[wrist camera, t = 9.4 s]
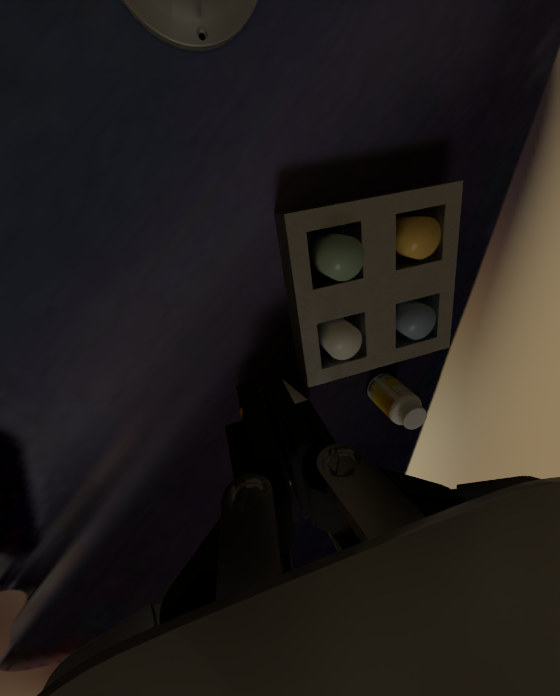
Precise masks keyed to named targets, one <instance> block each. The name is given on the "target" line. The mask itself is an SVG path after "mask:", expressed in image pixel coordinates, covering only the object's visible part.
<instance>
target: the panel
mask: <svg viewBox="0 0 560 696" xmlns="http://www.w3.org/2000/svg"><path fill="white" fill-rule="evenodd" d="M462 189H463V180H462V181H451V182H440V183H433V184H428V185H423V186H417V187H412V188H407V189H401V190H396V191H391V192H385V193H380V194H375V195H369V196H364V197H359V198H353V199H348V200H343V201H337V202H332V203H327V204H321V205H316V206H311V207H305V208H300V209H295V210H289V211H284V212H279V213H274V215H275V222H276V229H277V235H278V242H279V248H280V255H281V261H282V268H283V274H284V281H285V288H286V294H287V301H288V307H289V314H290V320H291V327H292V334H293V340H294V347H295V353H296V360H297V366H298V373H299V374H300V376H301V377H302V379H303V380H304V382H305V383H306V385H307V386H308V388H309V387H312V386H316V385H319V384H323V383H326V382H330V381H333V380H337V379H340V378H344V377H347V376H351V375H354V374H358V373H361V372H365V371H368V370H372V369H375V368H379V367H382V366H386V365H389V364H393V363H396V362H400V361H403V360H407V359H410V358H414V357H417V356H421V355H424V354H428V353H431V352H435V351H438V350H442V349H445V348H449V345H450V333H451V321H452V309H453V297H454V285H455V273H456V261H457V249H458V237H459V225H460V213H461V201H462ZM418 209H422V211H421V217H431V218H434V219H435V220H436V221H437V222H438V224H439V226H440V229H441V238H440V242H439V244H438V246H437V248H436V249H435V251H434V252H433V253H432V254H431V255H430V256H428V257H426V258H424V259H414V258H405V259H401V260H397V261H396V214H398V213H403V212H408V211H413V210H418ZM344 224H345V235H346V236H351V237H354V238H356V239H357V240H359V242H360V243H361V244H362V246H363V248H364V253H365V258H364V263H363V266H362V268H361V270H360V271H359V273H358V274H357V275H356V276H354V277H353V278H351V279H349V280H346V281H337V280H335V279H332V278H330V277H328V276H326V277H322V278H317V279H313V280H312V278H311V270H310V261H309V252H308V243H307V235H306V232H309V231H314V230H319V229H324V228H329V227H334V226H339V225H344ZM418 298H419V299H418ZM414 299H418V302H420V303H422V304H425V305H427V306H429V307H431V308H432V309H433V310H434V312H435V314H436V321H435V325H434V327H433V329H432V330H431V332H430V333H429V334H428V335H426V336H425V337H423V338H421V339H418V340H414V339H410V338H409V337H407V336H405V335H404V334H402V333H400V332H398V333H396V304H398V303H402V302H406V301H410V300H414ZM347 316H351V324H352V325H353V326H355V327H356V328H357V329H358V330H359V331H360V332H361V335H362V344H361V347H360V349H359V350H358V352H357V353H356V354H355V355H354V356H352V357H351V358H348V359H345V360H338V359H335V358H333V357H332V356H331V355H330V354H329V353H328V352H323V353H320V348H319V339H318V331H317V324H319V323H323V322H327V321H331V320H335V319H339V318H343V317H347Z"/></svg>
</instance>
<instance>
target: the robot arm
mask: <svg viewBox="0 0 560 696" xmlns="http://www.w3.org/2000/svg"><path fill="white" fill-rule="evenodd" d="M121 1H122V2H123V4H124V5H125V6H126V7H127V9H128V10H129V11H130V12H131V14H132V15H133V16H134V17H135V19H136V20H138V21H139V22H140V23H141V24H142V25H143V26H144V27H145V28H146V29H147V30H148V31H149V32H151V33H152V34H154V35H155V36H157V37H158V38H160V39H161V40H163V41H164V42H166V43H169V44H171V45H173V46H176V47H178V48H182V49H187V50H192V51H205V50H211V49H214V48H218V47H221V46H223V45H224V44H226V43H228V42H229V41H231V40H233V39H234V38H235V37H236V36H237V35H238V34H239V33H240V32H241V31H242V30H243V28H244V27H245V25H246V24H247V22H248V21H249V19H250V18H251V16H252V14H253V11H254V9H255V6H256V4H257V1H258V0H121ZM200 35H203V36H204V38H205V40H204V41H202V40H200V39H199V36H200ZM261 387H262V391H263V395H264V399H265V403H266V407H267V410H266V408H265V405H264V402H263V400H262V397H261V395H260V392H259V389H258V387H257V384H255V385H251V383H250V382H248V383H245V384H241V385H238V386H236V388H237V391H238V395H239V399H240V403H241V406H242V410H243V414H244V418H245V420H242V421H239V422H236V423H233V424H229V425H226V426H225V428H226V435H227V440H228V446H229V452H230V458H231V464H232V470H233V476H234V480H233V481H232V482H231V483H230V484H229V485H228V486H227V487H226V489H225V491H224V492H223V496H222V502H221V518H220V519H219V521H218V522H217V523H216V525H215V526H214V527H213V529H212V530H211V532H210V533H209V534H208V536H207V537H206V538H205V540H204V541H203V543H202V544H201V545H200V547H199V548H198V549H197V551H196V552H195V554H194V555H193V556H192V558H191V559H190V560H189V562H188V563H187V565H186V566H185V567H184V569H183V570H182V571H181V573H180V574H179V576H178V577H177V578H176V580H175V581H174V582H173V584H172V585H171V587H170V588H169V590H168V591H167V593H166V595H165V597H164V599H163V601H161V602H160V603H158V604H157V605H155V606H152V604H151V603H150V604H149V605H147V606H145V607H144V608H142V609H141V610H139V611H138V612H136V613H135V614H133V615H131V616H130V617H128V618H127V619H125V620H124V621H122V622H121V623H119V624H117V625H116V626H114V627H113V628H111V629H110V630H108V631H106V632H105V633H103V634H102V635H100V636H99V637H97V638H96V639H94V640H92V641H91V642H89V643H88V644H86V645H85V646H83V647H82V648H80V649H78V650H77V651H75V652H74V653H72V654H71V655H70V656H68V657H67V658H66V659H65V660H64V661H62V662H61V663H60V664H59V666H58V667H57V668H56V669H55V671H54V672H53V673H52V674H51V676H50V677H49V679H48V681H47V683H46V685H45V687H44V689H43V691H42V692H41V693H39V694H38V695H37V696H560V477H556V478H547V479H539V478H535V477H531V476H518V477H511V478H503V479H496V480H488V481H481V482H474V483H467V484H459V485H457V489H449V488H448V487H445V486H443V485H440V484H437V483H434V482H429V481H426V480H423V479H419V478H416V477H412V476H409V475H405V474H401V473H398V472H394V471H391V470H387V469H384V468H380V467H377V466H376V465H375V464H374V463H373V462H372V461H371V460H370V459H369V458H368V457H367V456H366V455H365V454H364V453H363V452H362V451H361V450H360V449H359V448H357V447H356V446H353V445H351V444H346V443H335V441H334V439H333V438H332V436H331V435H330V433H329V431H328V430H327V428H326V426H325V425H324V423H323V422H322V420H321V418H320V417H319V415H318V413H317V412H316V410H315V408H314V407H313V405H312V404H311V402H310V401H309V400H306V401H302V402H299V403H296V404H295V403H294V401H293V399H292V397H291V395H290V393H289V391H288V390H287V388H286V386H285V384H284V382H283V380H282V378H281V376H280V375H279V373H278V374H275V375H272V376H268V377H265V382H261ZM267 411H268V413H267ZM268 415H269V416H268ZM290 483H291V485H290ZM291 486H292V489H293V491H294V494H295V497H296V500H297V502H298V505H299V508H300V511H301V513H302V516H303V518H304V519H307V518H309V517H310V520H311V522H312V525H313V527H317V528H319V529H322V530H324V531H327V532H329V536H330V538H331V540H332V542H333V544H334V545H335V547H336V549H337V550H338V552H337V553H334V554H332V555H329V556H327V557H324V558H322V559H319V560H317V561H314V562H312V563H309V564H307V565H304V566H302V567H299V568H297V569H294V570H293V566H292V559H291V554H290V548H291V546H292V544H293V542H294V540H295V538H296V536H297V532H296V528H295V524H294V523H296V522H299V519H298V515H297V510H296V506H295V502H294V498H293V494H292V489H291Z"/></svg>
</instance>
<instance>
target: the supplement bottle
mask: <svg viewBox="0 0 560 696" xmlns="http://www.w3.org/2000/svg"><path fill="white" fill-rule="evenodd" d="M367 392H368V395H369V397H370V398H371V399H372V401H373V402H374V403H375V404H376V405H377V406H378V407H379V408H380V409H381V410H382V411H383V412H384V413H385V414H386V415H387V416H388V417H389V418H390V419H391V420H392V421H393V422H394V423H396V424H398V425H404V426H405V427H406V428H407V429H416V428H418V427H419V426H421V425H422V424H423V423H424V421H425V419H426V416H427V414H426V411H425V410H424V409H423V408H422V404H421V401H420V399H419V398H418V397H417V396H416V395H415V394H414V393H412V392H411V391H410V390H409V389H407V388H406V387H405V386H404V385H403V384H401V383H400V382H399V381H398V380H396V379H395V378H394V377H393V376H391V375H389V374H380V375H378V376H376V377H374V378H373V379H372V380H371V382H370V383H369V385H368V389H367Z"/></svg>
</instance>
